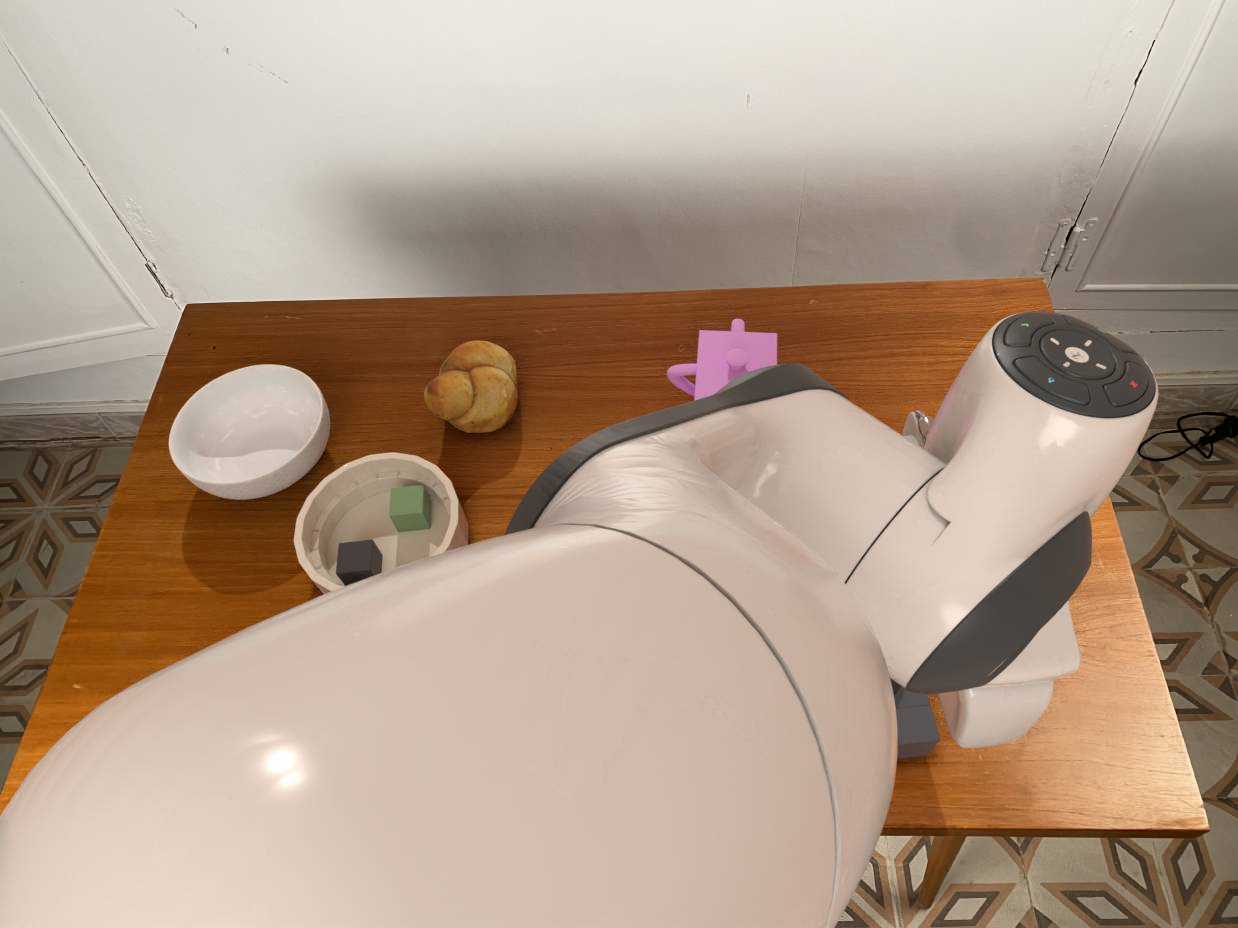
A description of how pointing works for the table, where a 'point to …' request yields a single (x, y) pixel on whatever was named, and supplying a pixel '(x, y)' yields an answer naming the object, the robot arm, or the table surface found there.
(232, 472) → the cereal bowl
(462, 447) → the table surface
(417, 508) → the block
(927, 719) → the holder
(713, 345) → the teapot
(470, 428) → the bread roll
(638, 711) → the robot arm
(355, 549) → the block
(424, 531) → the bowl
